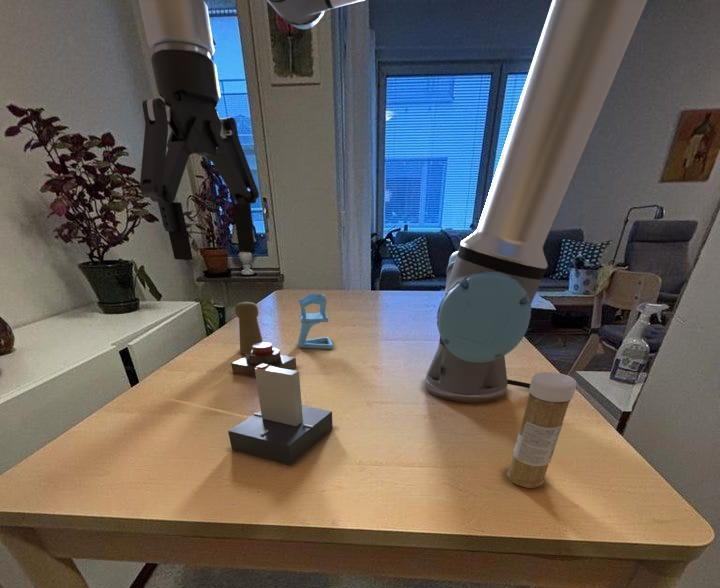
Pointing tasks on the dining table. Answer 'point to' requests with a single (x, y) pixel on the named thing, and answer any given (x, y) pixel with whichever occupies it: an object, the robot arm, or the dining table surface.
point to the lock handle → (279, 394)
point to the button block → (262, 362)
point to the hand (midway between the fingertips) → (218, 255)
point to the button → (262, 348)
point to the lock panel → (281, 435)
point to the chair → (313, 322)
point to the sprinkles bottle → (540, 427)
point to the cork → (248, 325)
